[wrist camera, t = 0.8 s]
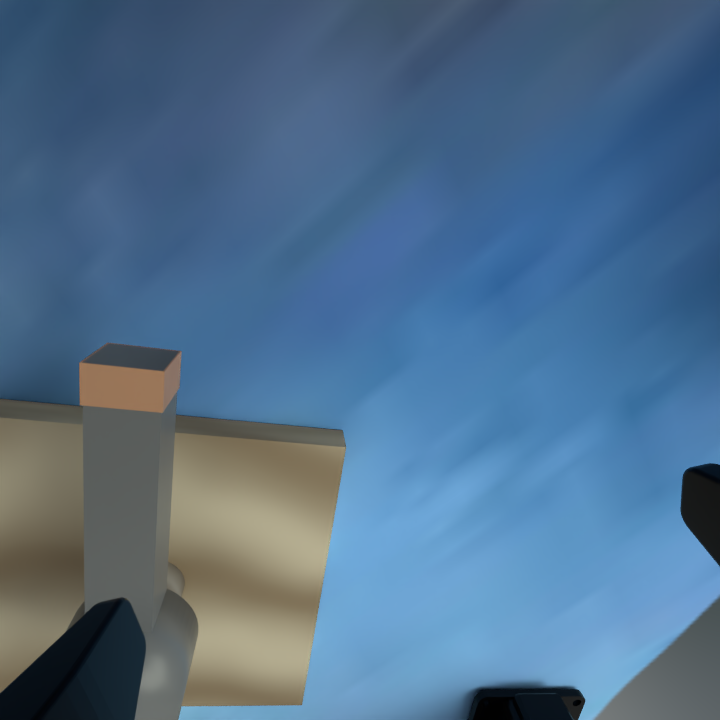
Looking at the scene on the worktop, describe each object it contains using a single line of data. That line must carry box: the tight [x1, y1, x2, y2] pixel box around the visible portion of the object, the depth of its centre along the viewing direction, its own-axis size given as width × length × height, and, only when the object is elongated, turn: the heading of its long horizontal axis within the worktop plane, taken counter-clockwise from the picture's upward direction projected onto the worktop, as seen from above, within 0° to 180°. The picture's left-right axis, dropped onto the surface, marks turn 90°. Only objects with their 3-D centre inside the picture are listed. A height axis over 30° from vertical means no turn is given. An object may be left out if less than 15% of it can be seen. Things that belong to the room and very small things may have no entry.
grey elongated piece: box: [66, 343, 198, 720], centre depth 15 cm, size 13×4×3 cm, turn 171°
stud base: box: [0, 399, 346, 706], centre depth 19 cm, size 14×14×4 cm
